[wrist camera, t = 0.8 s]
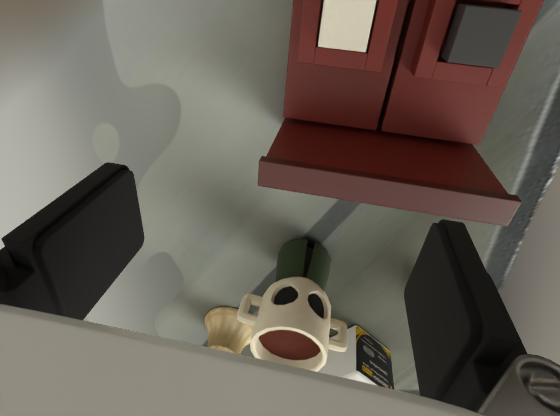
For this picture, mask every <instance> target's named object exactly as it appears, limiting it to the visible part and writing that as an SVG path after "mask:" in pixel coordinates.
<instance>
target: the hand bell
mask: <svg viewBox="0 0 560 416" xmlns="http://www.w3.org/2000/svg"><path fill="white" fill-rule="evenodd" d="M237 312H238V309H236V308H232V307H218V308H214V309H212V310H210V311H209V312H208V313H207V315H206V317H205V326H206V329H207V331H208V332H209V340H208V345H207V347H208V348H212V349H217V350H221V351H226V352H231V353H235V354H240V353H241V351H242V349H243V348H244V347H245V346H246V345H248V344H250V341H251V335H252V332H253V329H254V326H251V325H248V324H245V323H242V322H240V321H239V320H238V319H237Z"/></svg>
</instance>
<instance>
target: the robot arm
mask: <svg viewBox="0 0 560 416" xmlns="http://www.w3.org/2000/svg"><path fill="white" fill-rule="evenodd" d="M2 241H3V243H4V245H5V247H4V248H2V249H1V250H0V416H560V365H558V364H556V363H555V362H553V361H551V360H549V359H546V358H544V357H541V356H538V355H531V354H527V352H526V350H525V348H524V346H523V344H522V341H521V339H520V337H519V335H518V333H517V331H516V329H515V327H514V324H513V322H512V320H511V318H510V316H509V314H508V312H507V310H506V308H505V305H504V303H503V301H502V299H501V297H500V295H499V293H498V291H497V288H496V286H495V284H494V282H493V280H492V278H491V276H490V275H489V274H488V273H487V272H486V270H485V268H484V265H483V263H482V261H481V259H480V257H479V255H478V252H477V250H476V248H475V246H474V244H473V242H472V240H471V237H470V235H469V233H468V231H467V229H466V227H465V225H464V223H461V222H455V221H450V220H444V219H442V220H440V222H439V223H433V224H432V226H431V228H430V230H429V232H428V235H427V237H426V239H425V242H424V244H423V247H422V249H421V251H420V254H419V256H418V258H417V261H416V263H415V265H414V268H413V270H412V273H411V275H410V277H409V280H408V282H407V284H406V287H405V292H404V299H405V305H406V311H407V318H408V324H409V330H410V336H411V342H412V348H413V354H414V360H415V366H416V372H417V378H418V385H419V391H420V396H418V395H414V394H410V393H406V392H402V391H397V390H393V389H389V388H385V387H381V386H377V385H373V384H368V383H364V382H360V381H356V380H351V379H347V378H342V377H338V376H333V375H329V374H325V373H320V372H316V371H311V370H307V369H302V368H298V367H293V366H289V365H285V364H280V363H276V362H271V361H267V360H262V359H258V358H253V357H249V356H244V355H240V354H235V353H231V352H226V351H221V350H217V349H212V348H208V347H203V346H199V345H194V344H190V343H185V342H180V341H176V340H171V339H167V338H162V337H158V336H152V335H148V334H144V333H139V332H134V331H130V330H125V329H120V328H116V327H111V326H106V325H102V324H97V323H92V322H88V321H83V319H84V318H85V317H86V316H87V314H88V313H89V312H90V311H91V309H92V308H93V307H94V305H95V304H96V303H97V302H98V300H99V299H100V298H101V297H102V296H103V294H104V293H105V292H106V291H107V289H108V288H109V287H110V286H111V284H112V283H113V282H114V281H115V279H116V278H117V277H118V276H119V274H120V273H121V272H122V271H123V269H124V268H125V267H126V266H127V264H128V263H129V262H130V261H131V259H132V258H133V257H134V256H135V255H136V253H137V252H138V251H139V250H140V248H141V247H142V245H143V242H144V232H143V226H142V220H141V214H140V209H139V203H138V197H137V191H136V185H135V179H134V174H133V172H132V171H129V168H128V167H127V166H125V165H120V164H115V163H105V164H104V165H102V166H101V167H100V168H98V169H97V170H95V171H94V172H93V173H91V174H90V175H89V176H87V177H86V178H84V179H83V180H82V181H80V182H79V183H78V184H76V185H75V186H73V187H72V188H70V189H69V190H68V191H66V192H65V193H64V194H63V195H61V196H59V197H58V198H57V199H56V200H54V201H53V202H51V203H50V204H48V205H47V206H46V207H44V208H43V209H42V210H40V211H39V212H37V213H36V214H35V215H33V216H32V217H31V218H30V219H28V220H26V221H25V222H24V223H22V224H21V225H19V226H18V227H17V228H15V229H14V230H13V231H11V232H10V233H8V234H7V235H6V236H4V237H3V238H2Z"/></svg>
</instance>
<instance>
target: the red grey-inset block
mask: <svg viewBox="0 0 560 416" xmlns="http://www.w3.org/2000/svg"><path fill="white" fill-rule="evenodd" d="M543 1H544V0H410V3H409V7H408V11H407V14H406V18H405V22H404V26H403V30H402V34H401V38H400V42H399V46H398V50H397V54H396V58H395V62H394V66H393V70H392V73H391V77H390V81H389V85H388V89H387V93H386V97H385V101H384V105H383V109H382V113H381V117H380V127H381V131H383V132H390V133H397V134H404V135H411V136H418V137H425V138H432V139H439V140H447V141H454V142H461V143H468V144H475V145H480V143H481V141H482V139H483V136H484V134H485V132H486V130H487V127H488V125H489V123H490V121H491V118H492V116H493V114H494V112H495V109H496V107H497V105H498V103H499V100H500V98H501V96H502V93H503V91H504V89H505V87H506V84H507V82H508V80H509V78H510V75H511V73H512V71H513V69H514V66H515V64H516V62H517V60H518V57H519V55H520V53H521V51H522V48H523V46H524V44H525V42H526V39H527V37H528V35H529V33H530V30H531V28H532V26H533V23H534V21H535V19H536V17H537V14H538V12H539V10H540V8H541V5H542V3H543ZM459 3H460V4H470V5H480V6H489V7H499V8H509V9H515V10H521V11H522V13H521V16H520V18H519V21H518V23H517V25H516V28H515V30H514V32H513V35H512V37H511V40H510V42H509V44H508V47H507V49H506V52H505V54H504V56H503V59H502V61H501V64H500V66H499V68H491V67H483V66H474V65H466V64H458V63H449V62H447V61H446V60H444V59H443V58H442V57H441V55H442V52H443V49H444V46H445V43H446V40H447V36H448V33H449V30H450V27H451V24H452V21H453V18H454V15H455V12H456V9H457V6H458V4H459Z"/></svg>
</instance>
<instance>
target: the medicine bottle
mask: <svg viewBox="0 0 560 416" xmlns="http://www.w3.org/2000/svg"><path fill="white" fill-rule="evenodd" d="M331 338H332V339H335V340H338V334H337V335H335V336H333V337H331ZM317 372H320V373H325V374H329V375H333V376H338V377H342V378H347V379H351V380H356V381H360V382H364V383H368V384H373V385H377V386H381V387H385V388H389V389H393V390H394V383H393V373H392V363H391V353H390V351H389V350H388V349H387V348H385V347H384V346H383V345H382V344H380V343H379V342H378V341H377V340H375V339H374V338H373V337H372V336H370V335H369V334H368V333H367V332H365V331H364V330H363V329H361V328H360V327H359V326H357V325H355V326H353V327H351V328H349V329H348V331H347V349H346V351H345V352H338V351H334V350H331V349H328V354H327V360H326V364H325V365H324V366H323V367H322V368H321V369H320V370H319V371H317Z"/></svg>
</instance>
